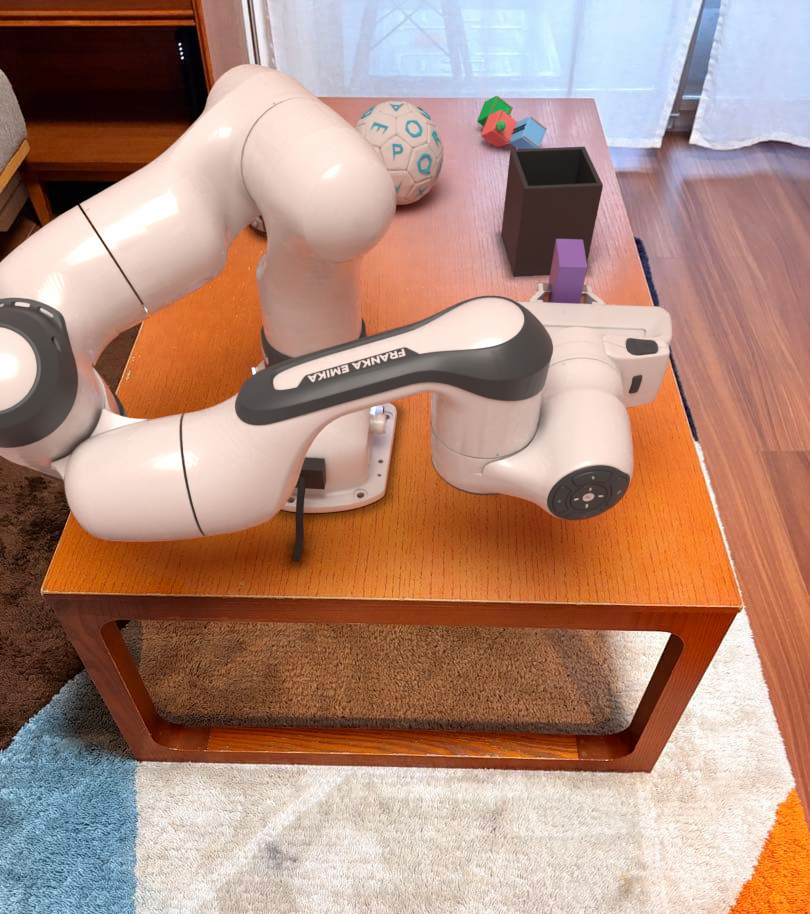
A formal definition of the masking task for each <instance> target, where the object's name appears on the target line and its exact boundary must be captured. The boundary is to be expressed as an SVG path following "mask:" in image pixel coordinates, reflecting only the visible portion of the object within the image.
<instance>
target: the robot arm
mask: <svg viewBox="0 0 810 914" xmlns="http://www.w3.org/2000/svg"><path fill="white" fill-rule="evenodd" d="M396 200H397V198H396V189H395V185H394V182H393V179H392V177H391V175H390V174H389V172H388V170H387V168H386V167H385V165H384V163H383V162H382V160H381V158H380V157H379V155H378V154H377V152H376V151H375V149H374V148H373V146H372V145H371V143H370V142H369V141H368V140H367V139H366V138H365V137H364V136H363V135H362V134H361V133H359V132H358V131H357V130H356V129H355V126H353V125H351V123H349V122H348V121H347V120H346V119H345V118H343V116H341V115H340V114H339V113H338V112H337V111H336V110H335V109H333V108H332V107H330V106H329V105H327V104H326V103H325V102H323V101H322V100H320V98H319V97H318V96H316V95H315V94H314V93H313V92H311V91H310V90H309V89H308V88H307V87H306V86H305V85H304V84H302V83H301V82H300V81H299V80H298V79H296V78H295V77H293V76H291V75H289V74H288V73H285V72H282V71H280V70H277V69H274V68H271V67H268V66H265V65H261V64H257V63H245V64H240V65H237V66H234V67H232V68H230V69H229V70H227V71H226V72H224V73H222V75H221V76H220V77H219V78H218V79H217V80H216V81H215V83H214V84H213V86H212V87H211V89H210V91H209V93H208V96H207V98H206V103H205V106H204V109H203V111H202V113H201V114H200V115H199V117H198V118H197V119H196V120H195V121H194V122H193V123H192V124H191V125H190V126H189V127H188V128H187V129H186V130H185V131H184V133H182V134H181V135H180V137H178V138H177V139H176V140H175V141H174V142H173V143H172V144H171V145H170V146H169V147H168V148H167V149H166V150H164V151H163V152H162V153H161V154H160V155H158V156H157V157H156V158H155V159H153V160H152V161H151V162H149V163H147V164H146V165H145V166H143V167H142V168H139V169H138V170H136V171H134V172H133V173H131V174H130V175H128V176H126V177H124V178H122V179H120V180H119V181H117V182H116V183H114V184H112V185H110V186H108V187H107V188H105V189H103V190H102V191H100V192H98V193H97V194H95V195H93V196H92V197H90V198H88V199H86V200H84V201H82V202H81V203H79V205H78V204H77V205H75V206H73V207H72V208H71V209H69V210H67V211H65V212H64V213H62V214H59V215H58V216H57V217H55V218H54V219H52V220H51V221H50V222H48V223H47V224H45V225H44V226H42V227H41V228H40V229H39V230H37V231H35V232H34V233H33V234H31V235H30V236H29V237H28V238H26V239H25V240H24V241H22V243H20V244H19V245H18V246H16V247H15V249H13V250H12V251H11V252H10V253H9V254H8V255H7V256H5V257H4V258H3V259H2V260H1V261H0V456H1V457H2V458H4V459H5V460H7V461H9V462H11V463H13V464H17V465H19V466H22V467H27V468H29V469H32V470H34V471H37V472H38V473H40V474H42V476H45V477H48V478H50V479H52V480H56V481H58V482H61V483H63V484H64V493H65V498H66V502H67V505H68V507H69V510H70V511H71V514H72V516H73V517H74V519H75V520H76V522H77V523H78V524H79V526H80V527H81V528H82V529H83V530H84V531H85V532H86V533H88V534H89V535H91V536H93V537H95V538H97V539H100V540H103V541H109V542H128V543H129V542H131V543H132V542H133V543H136V542H137V543H138V542H139V543H141V542H142V543H143V542H145V543H147V542H149V543H150V542H171V541H179V540H180V541H181V540H191V539H197V538H199V539H200V538H206V537H212V536H219V535H226V534H232V533H237V532H238V533H239V532H241V531H242V532H243V531H246V530H249V529H252V528H254V527H255V528H256V527H258V526H260V525H262V524H265V523H267V522H269V521H271V520H272V519H273V518H274V517H275V516H276V515H277V514H278V513H279V512H280V511H281V510H282V511H286V512H293V513H295V542H294V549H293V554H292V557H291V559H292V561H295V562H299V561H300V560H301V557H302V551H303V547H304V534H305V533H304V531H305V529H304V514H322V513H323V514H324V513H325V514H327V513H333V512H334V513H336V512H344V511H350V510H354V509H355V510H356V509H359V508H362V507H366V506H369V505H371V504H373V503H375V502H377V501H379V500H381V499H382V498H383V497H385V495H386V492H387V485H388V479H389V472H390V466H391V461H392V460H391V459H392V453H393V448H394V447H393V446H394V441H395V435H396V434H395V433H396V426H397V420H398V412H397V411H398V410H397V408H396V406H395V405H394V404H393V402H397V401H401V400H404V399H408V398H411V397H415V396H419V395H422V394H427V393H430V420H429V423H430V461H431V465H432V467H433V469H434V471H435V472H436V474H437V475H438V476H439V478H440V479H441V480H442V481H444V483H446V484H448V485H449V486H451V487H452V488H454V489H456V490H457V491H460V492H463V493H466V494H469V495H475V496H502V495H505V496H510V497H514V498H519V499H522V500H525V501H528V502H530V503H533V504H535V505H537V506H538V507H540V508H541V509H542V510H543V511H545V512H546V513H547V514H549V515H550V516H552V517H554V518H557V519H560V520H565V521H584V520H590V519H593V518H596V517H598V516H601V515H602V514H605V513H606V512H608V511H610V510H611V509H612V508H614V507H615V506H616V505H617V504H618V503H619V502H620V501H621V500H622V499H623V498H624V497H625V495H626V493H627V492H628V489H629V487H630V485H631V482H632V480H633V474H634V466H635V465H634V464H635V462H634V461H635V458H634V457H635V456H634V443H633V433H632V426H631V420H630V415H629V412H628V410H627V409H629V408H634V407H639V406H645V405H649V404H652V403H653V402H654V401H655V399H656V397H657V396H658V393H659V391H660V389H661V387H662V384H663V381H664V379H665V375H666V373H667V369H668V365H669V360H670V355H671V349H670V347H671V343H672V339H673V321H672V317H671V313H670V312H669V311H668V310H666V309H665V308H663V307H661V306H655V305H630V304H628V305H627V304H606V302H605V300H603V299H602V298H600V297H599V296H598V295H596V294H595V293H594V292H593V288H592V285H591V284H584V285H583V290H582V295H581V300H580V304H575V303H550V301H551V296H552V287H551V286H552V285H551V284H550V283H549V282H537V285H536V291H535V293H534V294H533V295H532V296H531V297H530V298H529V300H528V301H517V300H514V299H511V298H509V297H505V296H501V295H481V296H475V297H471V298H468V299H465V300H463V301H460V302H457V303H454V304H453V305H451V306H449V307H447V308H445V309H443V310H442V309H441V310H440V311H438V312H436V313H434V314H432V315H430V316H427V317H425V318H423V319H420V320H418V321H414V322H412V323H407V324H405V325H401V326H398V327H395V328H391V329H387V330H385V331H381V332H378V333H374V334H371V335H368V333H367V327H366V322H365V320H364V317H363V316H362V314H363V313H362V283H361V281H362V279H361V276H362V267H363V266H362V265H363V260H364V256H365V255H366V254H368V253H370V252H371V251H372V250H373V249H374V248H375V247H376V246H377V245H379V244H380V243H381V241H382V240H383V239H384V238H385V236H386V234H387V233H388V231H389V229H390V227H391V225H392V223H393V220H394V217H395V214H396V209H397V205H396ZM81 209H82V210H83V211H82V210H81ZM83 212H84V213H83ZM260 215H262V218H263V220H264V223H265V227H266V231H267V237H266V249H265V252H264V253H263V254H262V255H261V257H260V258H259V260H258V262H257V264H256V267H255V272H254V273H255V274H254V277H255V283H256V284H255V285H256V290H257V297H258V303H259V308H260V315H261V321H262V324H261V329H260V347H261V353H262V358H263V359H262V360H261V361H260V362H259V363H258V364H257V366H256V367H251V370H252V375H250V376H249V377H247V379H246V380H245V381H244V382H243V383H242V384H241V386H240V388H239V391H238V392H236V394H234V395H232V396H231V397H229V398H228V399H226V400H224V401H221V402H219V403H217V404H215V405H213V406H212V405H211V406H210V407H207V408H203V409H199V410H197V411H196V410H195V411H190V412H185V413H184V412H183V413H177V414H172V415H166V416H161V417H156V418H151V419H150V418H137V417H136V418H134V417H129V416H128V414H127V412H126V409H125V407H124V405H123V403H122V402H121V399H120V398H119V397H118V395H117V394H116V393H115V391H114V390H113V389H112V388H111V387H110V386H109V385H108V384H107V382H106V381H105V380H104V378H103V377H102V376H101V375H100V374H99V372H98V371H97V370H96V369H95V366H96V364H97V361H98V360H99V358H100V356H101V354H102V353H103V351H104V350H105V349H106V348H107V346H109V344H110V343H111V342H112V341H113V340H115V339H116V338H117V337H118V336H119V335H120V334H121V333H123V332H125V331H127V330H129V329H131V328H133V327H135V326H137V325H139V324H140V323H142V322H144V321H146V320H148V319H150V316H151V317H153V316H155V315H157V314H159V313H160V312H161V311H163V310H166V309H167V308H169V307H170V306H172V305H174V304H176V303H177V302H179V301H181V300H183V299H185V298H186V297H188V296H190V295H192V294H193V293H194V292H196V291H198V290H200V289H202V288H203V287H205V286H206V285H208V284H210V283H212V282H213V281H215V280H216V279H218V277H220V276H221V275H222V273H223V271H224V270H225V267H226V265H227V261H228V255H229V254H228V253H229V250H230V248H231V247H232V245H233V243H234V242H235V240H236V239H237V238H238V236H239V235H241V233H242V232H243V231H244V230H245V229H246V228H247V227H248V226H249V225H251V224H250V223H251V222H252V221H253V220H254V219H256V218H257V217H259V216H260ZM87 218H88V219H87ZM89 221H90V222H89ZM90 223H91V224H90ZM92 226H93V227H92ZM103 243H104V244H103ZM110 254H111V255H110ZM116 263H117V264H116ZM117 265H118V266H119V267H118V266H117ZM121 271H122V272H121ZM123 274H124V275H123ZM126 279H127V280H126ZM134 291H135V292H134ZM144 307H145V308H144ZM149 314H150V315H149Z"/></svg>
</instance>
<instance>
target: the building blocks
mask: <svg viewBox="0 0 810 914" xmlns="http://www.w3.org/2000/svg"><path fill="white" fill-rule="evenodd" d="M513 109H514V107H512V105H511V104H509V103H507V102H506V101H505V100H504V99H503V98H501V97H500V96H498V95H495V96H493V97H491V98H489V99H487V100H486V101H484V102H483V105H482V107H481V110H480V113H479V115H478V118H477V123H478V124H479V125H481V126H482V127H483V129H482V130H481V131H482V132H481V134H480V136H481V138H483V140H485V141H486V142H488V143H489V144H491V145H492V146H493V147H495V148H501V147H504V146H505V145H507V144H510V145H511V146H512V147H514V148H515V149H536V148H541V145H542V142H543V139H544V137H545V134H546V131H547V130H548V128H547V127H546V126H545V125H543V124H542V123H540V121H538V120H536V119H535V118H534V117H533V116H528V117H525V118H524V119H521V120H519V121H517V120H515V119H514V118H513V117H512V115H511V114H512V112H513Z"/></svg>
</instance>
